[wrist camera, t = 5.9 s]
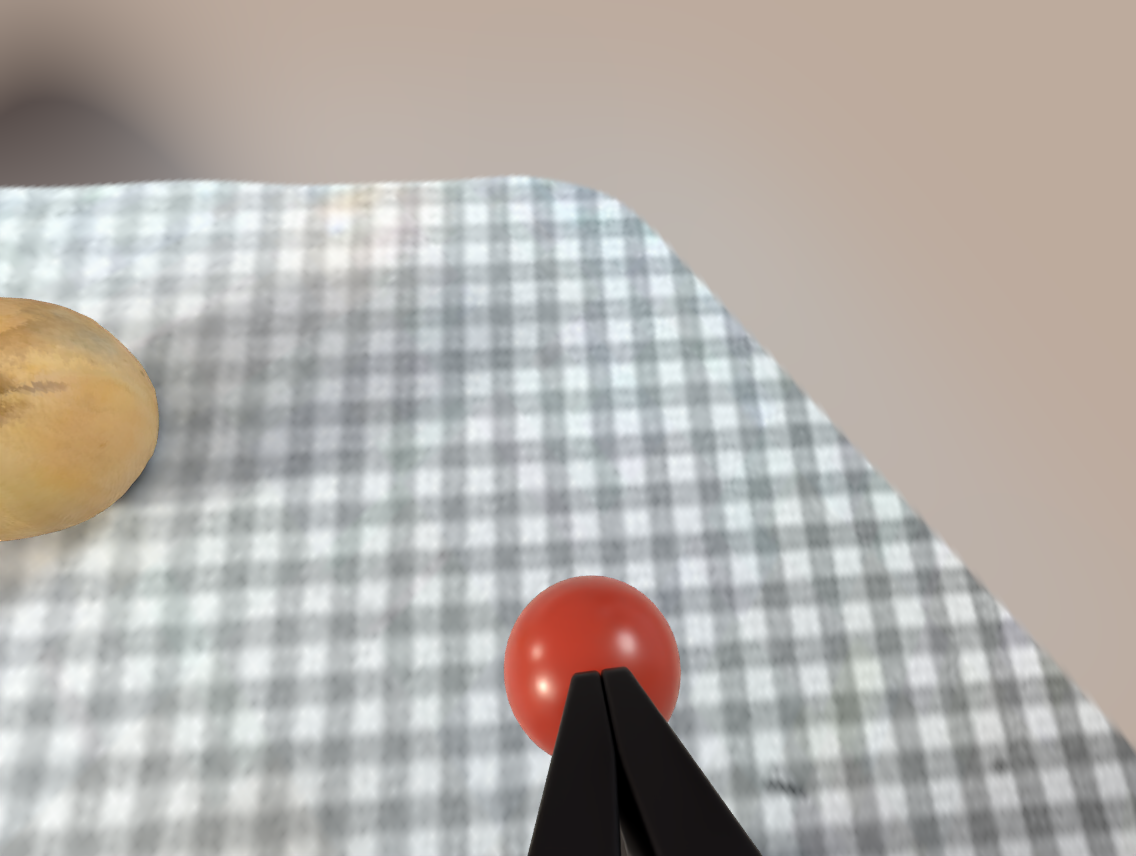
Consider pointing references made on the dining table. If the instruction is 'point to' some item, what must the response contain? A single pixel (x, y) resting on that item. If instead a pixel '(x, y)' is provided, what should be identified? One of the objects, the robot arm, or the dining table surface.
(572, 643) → the lever
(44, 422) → the onion
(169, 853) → the dining table surface
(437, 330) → the dining table surface
